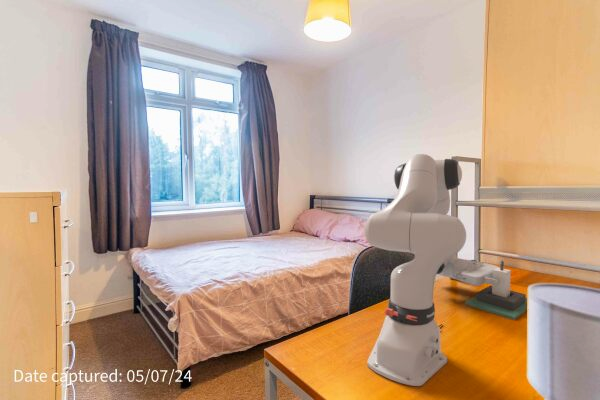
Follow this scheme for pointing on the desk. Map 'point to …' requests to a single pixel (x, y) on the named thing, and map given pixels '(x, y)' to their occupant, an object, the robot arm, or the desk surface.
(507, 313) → the board
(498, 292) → the plug
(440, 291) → the desk surface
